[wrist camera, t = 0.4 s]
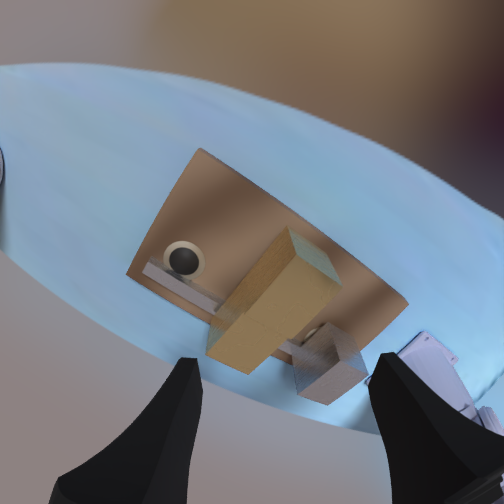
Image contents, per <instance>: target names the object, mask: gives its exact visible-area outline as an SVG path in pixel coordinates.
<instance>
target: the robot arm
mask: <svg viewBox="0 0 504 504" xmlns="http://www.w3.org/2000/svg"><path fill="white" fill-rule="evenodd" d="M457 361H458V358H457V356H455V355H454V354H453V353H452V352H451V351H450V350H448V349H447V348H446V347H445V346H444V345H442V344H441V343H440V342H439V341H438V340H436V339H435V338H434V337H433V336H431V335H430V334H429V333H428V332H426V331H423V332H422V333H420V334H419V335H418V336H417V337H416V338H415V339H414V340H413V341H412V342H411V343H410V344H409V345H408V346H407V347H405V348H404V349H403V350H402V351H401V352H400V353H399V354H398V355H396V354H395V353H394V352H390V353H382V354H381V355H380V357H379V360H378V362H377V365H376V367H375V370H374V372H373V374H372V377H370V378H369V379H368V380H367V385H368V390H369V395H370V400H371V405H372V409H373V412H374V415H375V418H376V421H377V424H378V427H379V430H380V433H381V436H382V440H383V442H384V446H385V449H386V453H387V458H388V463H389V470H390V477H391V486H392V487H391V488H392V504H504V429H503V427H502V425H501V423H500V421H499V420H498V418H497V416H496V414H495V413H494V411H493V410H492V408H491V407H485V406H482V407H481V408H480V409H479V410H477V409H476V408H475V406H474V404H473V400H472V398H471V396H470V394H469V392H468V391H467V389H466V387H465V385H464V384H463V382H462V380H461V379H460V377H459V375H458V374H457V372H456V370H455V369H454V367H453V365H454V364H455V363H456V362H457ZM202 395H203V389H202V383H201V378H200V372H199V367H198V361H197V358H183V357H181V358H180V359H179V360H178V362H177V364H176V365H175V367H174V369H173V370H172V372H171V373H170V375H169V377H168V378H167V379H166V381H165V383H164V384H163V385H162V387H161V388H160V390H159V391H158V392H157V393H156V395H155V396H154V398H153V399H152V400H151V402H150V403H149V404H148V405H147V406H146V408H145V409H144V410H143V411H142V412H141V414H140V415H139V416H138V417H137V418H136V419H135V420H134V421H133V423H132V424H131V425H130V426H129V427H128V428H127V429H126V430H125V431H124V432H123V433H122V434H121V435H119V436H118V437H117V438H116V439H115V440H114V441H113V442H112V443H111V444H109V445H108V446H107V447H106V448H104V449H103V450H102V451H100V452H99V453H98V454H96V455H95V456H94V457H92V458H91V459H89V460H88V461H86V462H85V463H83V464H82V465H80V466H78V467H77V468H75V469H73V470H71V471H70V472H68V473H66V474H64V475H62V476H60V477H58V479H57V481H56V483H55V485H54V488H53V491H52V494H51V497H50V500H49V504H187V488H188V476H189V466H190V460H191V455H192V451H193V446H194V442H195V437H196V433H197V428H198V424H199V419H200V414H201V406H202Z"/></svg>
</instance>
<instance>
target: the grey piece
mask: <svg viewBox="0 0 504 504" xmlns="http://www.w3.org/2000/svg"><path fill="white" fill-rule="evenodd" d="M142 273H143V274H145V275H147V276H148V277H150V278H151V279H153V280H155V281H156V282H158V283H160V284H161V285H163V286H165V287H166V288H168V289H170V290H171V291H173V292H175V293H176V294H178V295H180V296H181V297H183V298H185V299H187V300H188V301H190V302H192V303H193V304H195V305H197V306H199V307H200V308H202V309H204V310H206V311H208V312H209V313H211V314H213V315H215V313H216V312H217V311H218V310H219V308H220V307H221V306H222V305H223V304H224V302H225V301H226V300H224V299H222V298H221V297H219V296H217V295H215V294H214V293H212V292H210V291H208V290H207V289H205V288H203V287H202V286H200V285H198V284H197V283H195V282H193V281H192V280H189V279H187V278H185V277H184V276H182V275H180V274H178V273H177V272H175V271H174V270H172V269H171V268H169V267H167V266H166V265H164V263H162V262H161V261H159V260H157V259H156V258H154V257H153V256H151V258H150V259H149V261H148V263H147V264H146V266H145V268H144V270H143V272H142ZM278 349H280V350H282V351H284V352H286V353H288V354H290V355H292V361H293V368H294V375H295V382H296V389H297V395H299V396H302V397H305V398H307V399H310V400H313V401H316V402H319V403H322V404H324V405H327V406H328V405H329V404H331V403H332V402H333V401H335V400H336V399H338V398H339V397H340V396H342V395H343V394H345V393H346V392H347V391H349V390H350V389H351V388H353V387H354V386H355V385H356V384H358V383H359V382H360V381H362V380H363V379H364V378H365V377H367V376H368V375H369V373H368V371H367V368H366V366H365V363H364V360H363V358H362V355H361V353H360V350H359V348H358V345H357V343H356V340H355V338H354V337H353V336H351V335H349V334H348V333H346V332H344V331H342V330H341V329H339V328H337V327H336V326H334V325H332V324H331V323H329V322H327V323H326V324H325V325H324V326H323V327H322V328H321V329H319V330H318V331H317V332H316V333H315V334H314V335H313V336H312V337H311V338H310V339H309V340H308V341H307V342H306V343H305V344H304V343H303V342H301V341H299V340H297V339H295V338H292V339H289V338H288V339H287V340H286V341H285V342H284V343H283V344H282V345H280V346H279V347H278Z"/></svg>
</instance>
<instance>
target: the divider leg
mask: <svg viewBox="0 0 504 504" xmlns="http://www.w3.org/2000/svg"><path fill="white" fill-rule="evenodd" d="M342 288H343V285H342V283H341V281H340V279H339V277H338V275H337V273H336V271H335V269H334V267H333V265H332V263H331V261H330V259H329V258H328V256H327V254H326V253H325V252H324V251H323V250H321V249H320V248H319V247H317V246H316V245H314V244H313V243H312V242H310V241H309V240H307V239H306V238H305V237H303V236H302V235H300V234H299V233H298V232H296V231H295V230H293V229H292V228H291V227H289V226H288V225H287V226H286V227H285V228H284V229H283V231H282V232H281V233H280V234H279V236H278V237H277V238H276V239H275V241H274V242H273V243H272V244H271V245H270V247H269V248H268V249H267V250H266V252H265V253H264V254H263V255H262V257H261V258H260V259H259V260H258V262H257V263H256V264H255V265H254V267H253V268H252V269H251V270H250V272H249V273H248V274H247V275H246V276H245V278H244V279H243V280H242V281H241V283H240V284H239V285H238V286H237V288H236V289H235V290H234V291H233V292H232V294H231V295H230V296H229V297H228V299H227V300H226V301H225V302H224V304H223V305H222V306H221V307H220V308H219V310H218V311H217V312H216V313H215V315H214V316H213V317H212V319H211V325H210V331H209V336H208V342H207V347H206V353H205V355H207V356H209V357H211V358H213V359H215V360H217V361H219V362H221V363H223V364H225V365H228V366H230V367H232V368H234V369H236V370H238V371H241V372H243V373H245V374H247V375H249V374H250V373H251V372H252V371H253V370H254V369H255V368H256V367H258V366H259V365H260V364H261V363H262V362H263V361H264V360H265V359H266V358H268V357H269V356H270V355H271V354H272V353H273V352H274V351H275V350H276V349H277V348H278V347H279V346H280V345H282V344H283V343H284V342H285V341H286V340H287V339H288V338H289V339H292V338H293V337H294V336H295V335H297V334H298V333H299V332H300V331H301V330H302V329H303V328H304V327H305V326H306V325H307V324H308V323H309V322H310V321H311V320H312V319H313V318H314V317H315V316H316V315H317V314H318V313H319V312H320V311H321V310H322V309H323V308H324V307H325V306H326V305H327V304H328V303H329V302H330V301H331V300H332V299H333V298H334V297H335V296H336V294H337V293H338V292H339V291H340V290H341V289H342Z"/></svg>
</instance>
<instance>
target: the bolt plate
mask: <svg viewBox="0 0 504 504" xmlns="http://www.w3.org/2000/svg"><path fill="white" fill-rule="evenodd" d="M287 225H288V226H289V227H291V228H292V229H293V230H295V231H296V232H298V233H299V234H300V235H302V236H303V237H305V238H306V239H307V240H309V241H310V242H312V243H313V244H314V245H316V246H317V247H319V248H320V249H321V250H323V251H324V252H325V253H326V254H327V256H328V258H329V259H330V261H331V263H332V265H333V267H334V269H335V271H336V273H337V275H338V277H339V279H340V281H341V283H342V285H343V288H342V289H341V290H340V291H339V292H338V293H337V294H336V296H335V297H334V298H333V299H332V300H331V301H330V302H329V303H328V304H327V305H326V306H325V307H324V308H323V309H322V310H321V311H320V312H319V313H318V314H317V315H316V316H315V317H314V318H313V319H312V320H311V321H310V322H309V323H308V324H307V325H306V326H305V327H304V328H303V329H302V330H301V331H300V332H299V333H298V334H297V335H295V336H294V337H293V338H295V339H297V340H299V341H301V342H303V343H304V344H305V343H306V342H307V341H308V340H309V339H310V338H311V337H312V336H313V335H314V334H315V333H316V332H317V331H318V330H319V329H321V328H322V327H323V326H324V325H325V324H326V323H327V322H329V323H331V324H332V325H334V326H336V327H337V328H339V329H341V330H342V331H344V332H346V333H348V334H349V335H351V336H353V337H354V338H355V340H356V343H357V345H358V348H359V350H360V351H361V350H362V349H363V348H364V347H365V346H366V345H368V344H369V343H370V342H371V341H372V340H373V339H374V338H375V337H376V336H377V335H379V334H380V333H381V332H382V331H383V330H384V329H385V328H386V327H387V326H388V325H389V324H390V323H391V322H392V321H393V320H394V319H395V318H396V317H397V316H398V315H399V314H400V313H401V312H402V311H403V310H404V309H405V308H406V307H407V306H408V305H409V304H408V302H407V301H406V300H405V298H404V297H403V296H402V295H400V294H399V293H398V292H397V291H396V290H395V289H393V288H392V287H391V286H390V285H388V284H387V283H386V282H385V281H384V280H382V279H381V278H380V277H379V276H378V275H376V274H375V273H374V272H373V271H371V270H370V269H369V268H368V267H366V266H365V265H364V264H363V263H361V262H360V261H359V260H358V259H356V258H355V257H354V256H353V255H351V254H350V253H349V252H347V251H346V250H345V249H344V248H342V247H341V246H340V245H338V244H337V243H336V242H334V241H333V240H332V239H331V238H329V237H328V236H327V235H325V234H324V233H323V232H321V231H320V230H319V229H317V228H316V227H315V226H313V225H312V224H311V223H309V222H308V221H306V220H305V219H304V218H302V217H301V216H300V215H298V214H297V213H296V212H294V211H293V210H291V209H290V208H289V207H287V206H286V205H284V204H283V203H282V202H280V201H279V200H277V199H276V198H275V197H273V196H272V195H270V194H269V193H268V192H266V191H265V190H263V189H262V188H260V187H259V186H257V185H256V184H255V183H253V182H252V181H250V180H249V179H247V178H246V177H244V176H243V175H241V174H240V173H238V172H237V171H235V170H234V169H232V168H231V167H229V166H228V165H226V164H225V163H223V162H222V161H220V160H219V159H217V158H216V157H214V156H213V155H211V154H210V153H208V152H207V151H205V150H203V149H202V148H199V149H197V151H196V152H195V154H194V155H193V157H192V159H191V160H190V162H189V163H188V165H187V166H186V168H185V170H184V171H183V173H182V174H181V176H180V178H179V179H178V181H177V182H176V184H175V186H174V187H173V189H172V191H171V192H170V194H169V196H168V197H167V199H166V201H165V202H164V204H163V206H162V208H161V209H160V211H159V213H158V215H157V216H156V218H155V220H154V222H153V224H152V225H151V227H150V229H149V231H148V233H147V234H146V236H145V238H144V240H143V242H142V244H141V246H140V248H139V249H138V251H137V253H136V255H135V257H134V259H133V261H132V263H131V265H130V267H129V269H128V271H127V273H126V275H127V276H129V277H130V278H132V279H134V280H135V281H137V282H138V283H140V284H142V285H143V286H145V287H146V288H148V289H150V290H151V291H153V292H155V293H156V294H158V295H160V296H161V297H163V298H165V299H166V300H168V301H170V302H171V303H173V304H175V305H177V306H178V307H180V308H182V309H184V310H185V311H187V312H189V313H191V314H192V315H194V316H196V317H198V318H200V319H201V320H203V321H205V322H207V323H209V324H211V319H212V317H213V316H214V315H213V314H211V313H209V312H208V311H206V310H204V309H202V308H200V307H199V306H197V305H195V304H193V303H192V302H190V301H188V300H187V299H185V298H183V297H181V296H180V295H178V294H176V293H175V292H173V291H171V290H170V289H168V288H166V287H165V286H163V285H161V284H160V283H158V282H156V281H155V280H153V279H151V278H150V277H148V276H147V275H145V274H143V273H142V272H143V270H144V268H145V266H146V264H147V263H148V261H149V259H150V258H151V256H153V257H154V258H156V259H157V260H159V261H161V262H162V263H164V265H166V266H167V267H169V268H171V269H172V270H174V271H175V272H177V273H178V274H180V275H182V276H184V277H185V278H187V279H189V280H192V281H193V282H195V283H197V284H198V285H200V286H202V287H203V288H205V289H207V290H208V291H210V292H212V293H214V294H215V295H217V296H219V297H221V298H222V299H224V300H227V299H228V297H229V296H230V295H231V294H232V292H233V291H234V290H235V289H236V288H237V286H238V285H239V284H240V283H241V281H242V280H243V279H244V278H245V276H246V275H247V274H248V273H249V272H250V270H251V269H252V268H253V267H254V265H255V264H256V263H257V262H258V260H259V259H260V258H261V257H262V255H263V254H264V253H265V252H266V250H267V249H268V248H269V247H270V245H271V244H272V243H273V242H274V241H275V239H276V238H277V237H278V236H279V234H280V233H281V232H282V231H283V229H284V228H285V227H286V226H287ZM271 355H272V356H274V357H276V358H278V359H280V360H282V361H284V362H286V363H289V364H291V365H293V361H292V355H290V354H288V353H286V352H284V351H282V350H280V349H278V348H277V349H276V350H275V351H274V352H273V353H272V354H271Z"/></svg>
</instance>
